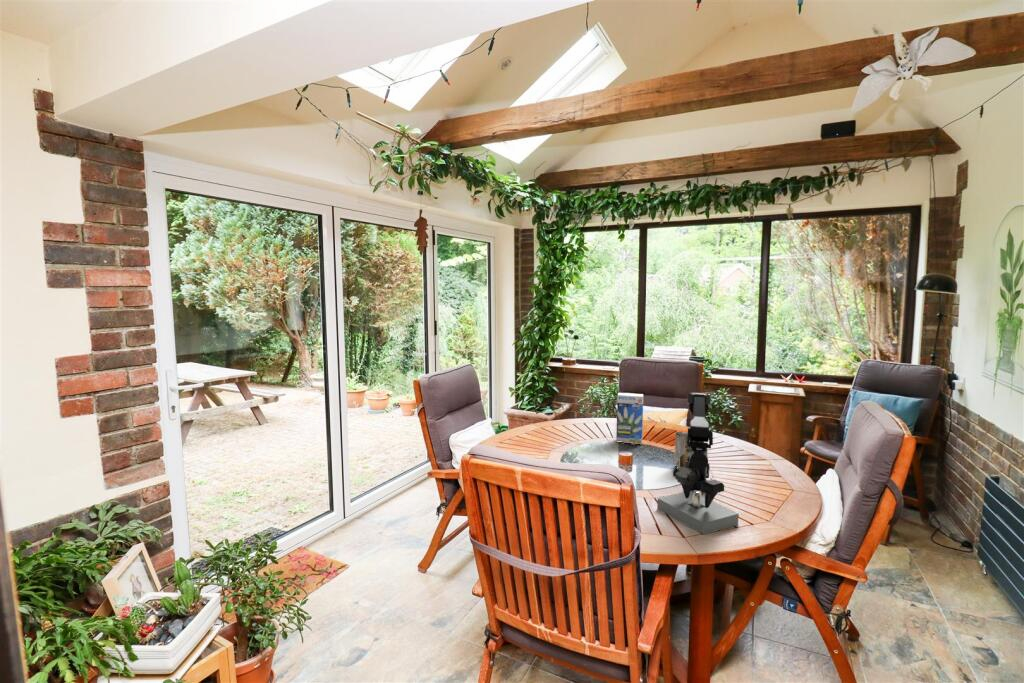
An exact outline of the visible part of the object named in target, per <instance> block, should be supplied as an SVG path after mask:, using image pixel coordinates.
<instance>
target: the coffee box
mask: <svg viewBox="0 0 1024 683" xmlns="http://www.w3.org/2000/svg"><path fill="white" fill-rule="evenodd" d="M687 440H688V431H675V442H674V443H675V445H674V447H675V450H674V460H675V461H674V466H675V465H676V466H677V467H678V468H679V467H685V465H686V460H688V454H689V453H690V446H687ZM690 441H691V440H690V437H689V443H690Z"/></svg>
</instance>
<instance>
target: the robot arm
mask: <svg viewBox="0 0 1024 683" xmlns="http://www.w3.org/2000/svg"><path fill="white" fill-rule="evenodd" d="M686 404H687V405H688V406H689V407H688V408H689V411H690V412H691V414H692V419H691V420H690V421H689V427H687V432H688V440H687V446H690V453H689V454H688V460H686V465H685V467H679V468H676V467H675V468H674V469H673V471H672V476H673V477H674V478H675V480H676V481H677V483H680V485H681V487H682V488H681V489H682V491H683V492H684V494H685V497H686V498H689V495H690V491H692V492H693V491H694V490H698V491H701V492H702V493H703V494H704V497H705V508H708V507H709V506H710V504H711V502H712V501H713V502H714V499H715V498H716V496H717V494H719V493H722V492H725V484H724V483H723V482H721V481H719V480H717V479H711V480H707V479H709V478H710V469H711V468H710V463H709V457H708V449H712V446H713V445H714V439H713V438H714V433H713V431H712V430H713V429H711V428H710V423H709V421H708V420H706V414H707V412H708V410H709V406H711V395H710V394H708V393H706V392H705V393H703V392H690V393H688V394H687V403H686ZM689 437H690V440H691V441H690V443H689Z"/></svg>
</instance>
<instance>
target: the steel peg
mask: <svg viewBox="0 0 1024 683" xmlns="http://www.w3.org/2000/svg"><path fill="white" fill-rule="evenodd" d="M702 493H703V492H701V491H698V490H694V491H693V492H692V507H693V508H695V509H700V508H701V496H702Z"/></svg>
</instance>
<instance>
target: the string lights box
mask: <svg viewBox="0 0 1024 683" xmlns="http://www.w3.org/2000/svg"><path fill="white" fill-rule="evenodd" d="M616 405H617V406H616V407H617V408H616V437H615V438H616V439H615V442H616V441H622V442H633V443H642V444H643V427H644V426H643V422H644V421H643V419H644V393H632V392H618V393H617V404H616Z"/></svg>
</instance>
